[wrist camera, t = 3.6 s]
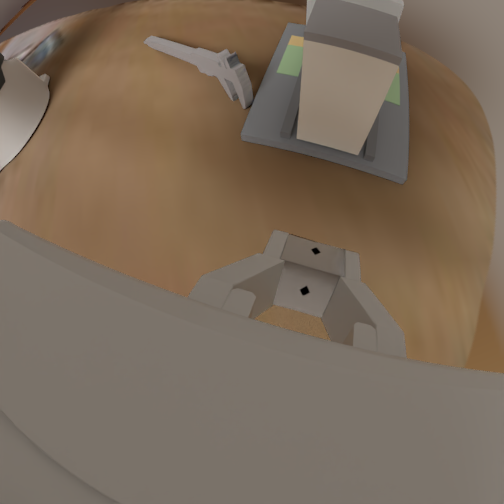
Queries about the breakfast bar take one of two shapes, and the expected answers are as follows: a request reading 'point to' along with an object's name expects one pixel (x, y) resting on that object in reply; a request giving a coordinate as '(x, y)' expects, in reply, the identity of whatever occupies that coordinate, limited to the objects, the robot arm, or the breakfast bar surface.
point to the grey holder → (288, 98)
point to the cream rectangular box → (345, 72)
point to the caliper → (212, 67)
